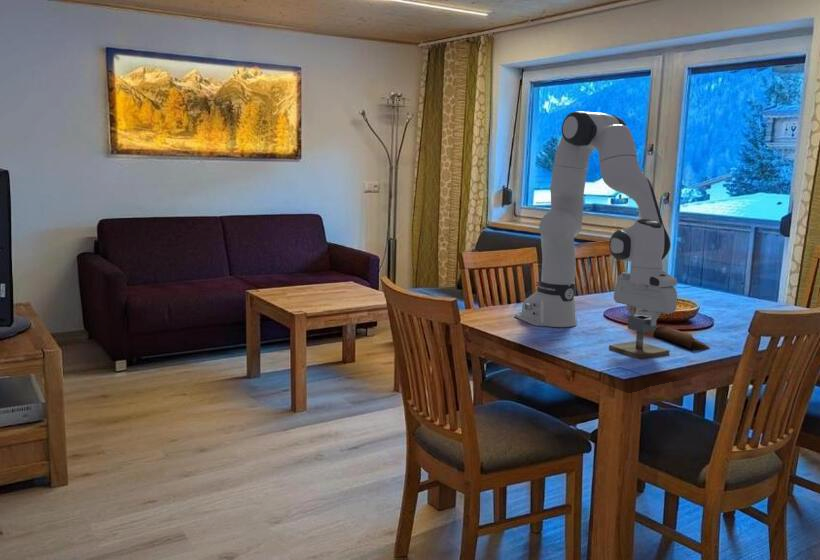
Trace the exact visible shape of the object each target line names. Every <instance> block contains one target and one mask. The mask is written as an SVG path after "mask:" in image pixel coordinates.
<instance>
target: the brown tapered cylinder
mask: <svg viewBox="0 0 820 560" xmlns="http://www.w3.org/2000/svg"><path fill="white" fill-rule="evenodd" d="M652 332H653V333H652V336H653V337H655V338H660V339H664V340H667V341H670V342H672V343H676V344H678V345H680V346H682V347H685V348H687V349H689V350H691V351H693V352H694V351H695V352H696V351H707V350H711V347H709V345H707V344H705V342H702V341H700V340H698V339H696V338H694V336H693V335H692V334H689V333H687V332H682V331H680V330H678V329H676V328H674V327H668V326H658V327H657V326H656V330H655V331H652Z"/></svg>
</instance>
